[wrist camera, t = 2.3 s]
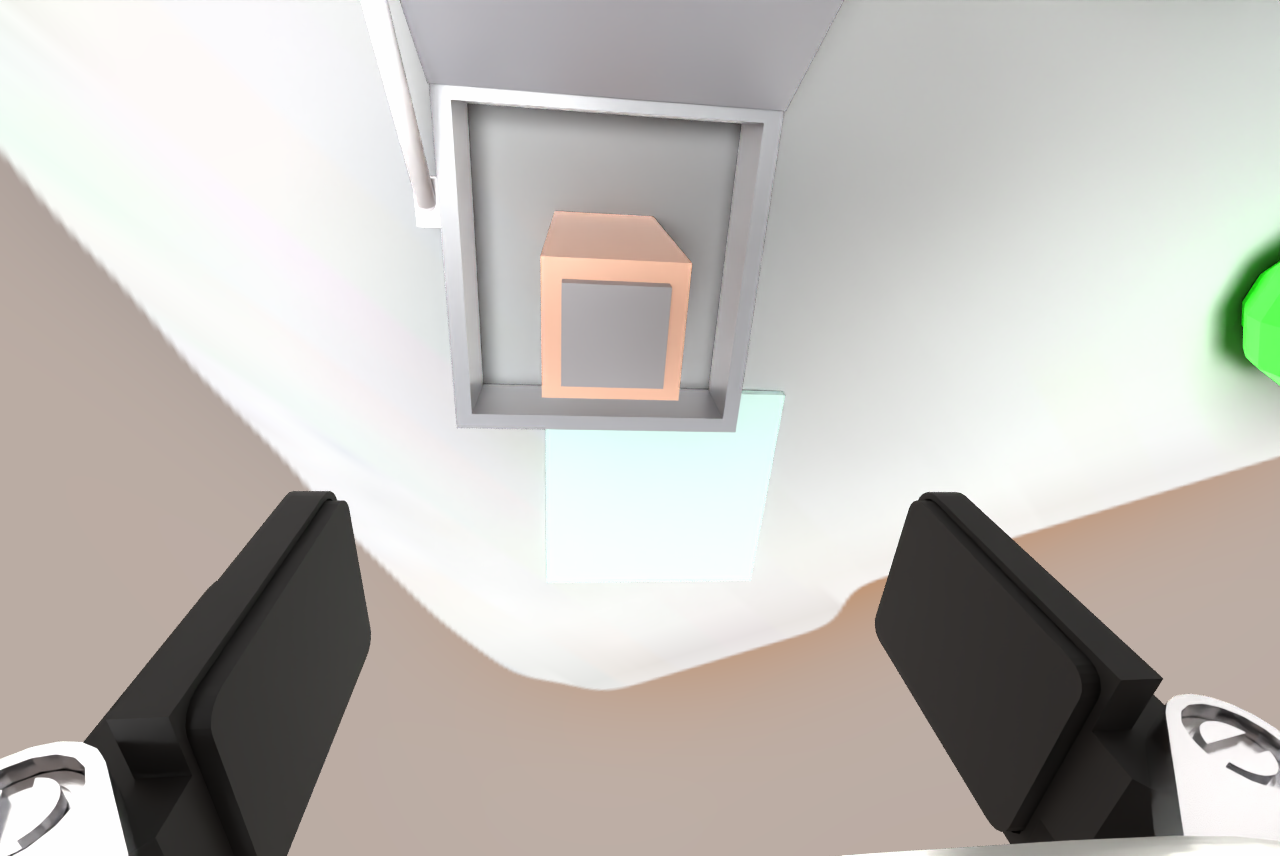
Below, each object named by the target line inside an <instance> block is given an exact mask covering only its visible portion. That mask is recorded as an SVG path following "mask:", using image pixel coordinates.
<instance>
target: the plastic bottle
mask: <svg viewBox="0 0 1280 856" xmlns="http://www.w3.org/2000/svg"><path fill="white" fill-rule="evenodd" d="M1241 326H1243V350H1244V353H1245V357H1246V358H1247V359H1248V360H1249V361H1250V362H1251V363H1252V364H1253V365H1254V366H1256V367H1257V368H1258V369H1259V370H1260V371H1261V372H1263V373H1264V374H1265V375H1267V376H1268V377H1269V378H1270V379H1272V380H1273V381H1274V382H1276V383H1277V384H1278V385H1279V386H1280V261H1278V262H1277V263H1276V264H1274V265H1273V266H1271V267H1270V268H1268V269H1267V270H1266V271H1264V272H1263V273H1261V274H1260V275H1259V277H1258V278H1257V280H1256V281H1255V283H1254V284H1253V286H1252V287H1251V289H1250V290H1249V292H1248V294H1247V295H1246V297H1245V298H1244V300H1243V301H1242V320H1241Z"/></svg>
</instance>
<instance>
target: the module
mask: <svg viewBox="0 0 1280 856" xmlns="http://www.w3.org/2000/svg"><path fill="white" fill-rule="evenodd" d="M540 264H541V363H542V397H544V398H588V399H632V400H676V401H678V399H679V389H680V379H681V369H682V359H683V349H684V340H685V330H686V320H687V310H688V300H689V290H690V280H691V270H692V263H691V261H690V260H689V259H688V258H687V257H686V255H685V254H684V253H683V252H682V251H681V249H680V248H679V247H678V246H677V245H676V243H675V242H674V241H673V240H672V239H671V237H670V236H669V235H668V234H667V233H666V231H665V230H664V229H663V228H662V227H661V225H660V224H659V223H658V222H657V221H656V219H655V218H654V217H653V216H637V215H619V214H601V213H584V212H566V211H554V215H553V218H552V221H551V224H550V227H549V230H548V234H547V237H546V240H545V243H544V246H543V249H542V253H541V256H540Z"/></svg>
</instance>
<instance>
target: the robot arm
mask: <svg viewBox="0 0 1280 856" xmlns="http://www.w3.org/2000/svg"><path fill="white" fill-rule="evenodd" d="M875 628H876V633H877V636H878V638H879V641H880V642H881V644H882V646H883V647H884V649H885V650H886V652H887V654H888V656H889V657H890V659H891V661H892V662H893V664H894V665H895V667H896V669H897V670H898V672H899V674H900V675H901V677H902V679H903V680H904V682H905V684H906V685H907V687H908V689H909V690H910V692H911V693H912V695H913V697H914V699H915V700H916V702H917V704H918V705H919V707H920V708H921V710H922V712H923V714H924V715H925V717H926V719H927V720H928V722H929V724H930V725H931V727H932V729H933V730H934V732H935V733H936V735H937V737H938V738H939V740H940V741H941V743H942V745H943V747H944V748H945V750H946V752H947V753H948V755H949V757H950V758H951V760H952V762H953V763H954V765H955V767H956V768H957V770H958V772H959V773H960V775H961V777H962V778H963V780H964V782H965V783H966V785H967V787H968V788H969V790H970V792H971V793H972V795H973V797H974V798H975V800H976V801H977V803H978V805H979V806H980V808H981V810H982V811H983V813H984V815H985V816H986V818H987V819H988V821H989V822H990V824H991V825H992V826H993V827H994V828H995V829H997V830H999V831H1001V832H1003V833H1004V834H1005V836H1006V838H1007V839H1008V841H1009V842H1010V844H1007V845H992V846H977V847H963V848H948V849H932V850H918V851H902V852H886V853H872V854H859V855H844V856H1280V731H1278V730H1277V729H1276V728H1274V727H1273V726H1271V725H1269V724H1268V723H1266V722H1265V721H1263V720H1261V719H1260V718H1258V717H1256V716H1255V715H1253V714H1251V713H1249V712H1247V711H1245V710H1243V709H1241V708H1238V707H1236V706H1234V705H1232V704H1230V703H1227V702H1224V701H1221V700H1218V699H1215V698H1211V697H1208V696H1202V695H1195V694H1183V695H1176V696H1174V697H1173V698H1172V699H1170V700H1169V701H1168V702H1167V703H1166V705H1164V704H1163V703H1162V702H1161V701H1160V700H1158V698H1156V697H1155V696H1154V695H1153V694H1154V692H1155V691H1156V689H1157V688H1158V686H1159V684H1160V683H1161V681H1162V680H1163V678H1162V677H1161V676H1160V675H1159V674H1158V673H1157V672H1156V671H1154V670H1153V669H1152V668H1151V667H1150V666H1149V665H1148V664H1147V663H1146V662H1145V661H1144V660H1142V659H1141V658H1140V657H1139V656H1138V655H1137V654H1136V653H1135V652H1134V651H1133V650H1132V649H1131V648H1130V647H1128V646H1127V645H1126V644H1125V643H1124V642H1123V641H1122V640H1121V639H1119V637H1118V636H1116V635H1115V634H1114V633H1113V632H1112V631H1111V630H1110V629H1109V628H1108V627H1107V626H1106V625H1105V624H1103V623H1102V622H1101V621H1100V620H1099V619H1098V618H1097V617H1096V616H1095V615H1094V614H1093V613H1091V612H1090V611H1089V610H1088V609H1087V608H1086V607H1085V606H1084V605H1083V604H1082V603H1081V602H1080V601H1079V600H1077V599H1076V598H1075V597H1074V596H1073V595H1072V594H1071V593H1070V592H1069V591H1068V590H1066V589H1065V588H1064V587H1063V586H1062V585H1061V584H1060V583H1059V582H1058V581H1057V580H1056V579H1055V578H1054V577H1053V576H1051V575H1050V574H1049V573H1048V572H1047V571H1046V570H1045V569H1044V568H1043V567H1042V566H1041V565H1039V564H1038V563H1037V562H1036V561H1035V560H1034V559H1033V558H1032V557H1031V556H1030V555H1029V554H1028V553H1027V552H1025V551H1024V550H1023V549H1022V548H1021V547H1020V546H1019V545H1018V544H1017V543H1016V542H1015V541H1014V540H1012V539H1011V538H1010V537H1009V536H1008V535H1007V534H1006V533H1005V532H1004V531H1003V530H1002V529H1001V528H999V527H998V526H997V525H996V524H995V523H994V522H993V521H992V520H991V519H990V518H989V517H988V516H986V515H985V514H984V513H983V512H982V511H981V510H980V509H979V508H978V507H977V506H976V505H975V504H973V503H972V502H971V501H970V500H969V499H968V498H967V497H966V496H965V495H963V494H961V493H957V492H927V493H924V494H922V496H921V497H920V498H919V500H918V501H914V502H913V503H912V504H911V506H910V508H909V511H908V514H907V517H906V520H905V523H904V527H903V530H902V533H901V536H900V540H899V543H898V546H897V549H896V553H895V556H894V559H893V562H892V566H891V569H890V572H889V575H888V578H887V582H886V585H885V588H884V592H883V595H882V598H881V601H880V604H879V608H878V611H877V614H876V618H875ZM370 640H371V630H370V624H369V618H368V612H367V607H366V602H365V596H364V590H363V585H362V579H361V573H360V568H359V562H358V557H357V551H356V545H355V539H354V534H353V528H352V523H351V517H350V511H349V507H348V504H347V503H346V502H345V501H337V499H336V497H335V495H334V493H332V492H331V491H293V492H289V493H288V494H287V495H286V496H285V497H284V499H283V500H282V501H281V502H280V504H279V505H278V506H277V507H276V509H275V510H274V511H273V512H272V514H271V515H270V516H269V517H268V519H267V520H266V521H265V522H264V523H263V525H262V526H261V527H260V529H259V530H258V531H257V532H256V533H255V535H254V536H253V537H252V538H251V540H250V541H249V542H248V543H247V545H246V546H245V547H244V548H243V550H242V551H241V552H240V553H239V555H238V556H237V557H236V558H235V560H234V561H233V562H232V563H231V565H230V566H229V567H228V568H227V569H226V571H225V572H224V573H223V575H222V576H221V577H220V578H219V579H218V581H216V582H215V583H214V584H213V585H212V586H210V587H209V589H207V591H206V592H205V593H204V594H203V595H202V597H201V598H200V599H199V600H198V602H197V603H196V604H195V605H194V607H193V608H192V609H191V610H190V611H189V613H188V614H187V615H186V616H185V618H184V619H183V620H182V621H181V623H180V624H179V625H178V626H177V628H176V629H175V630H174V631H173V632H172V634H171V635H170V636H169V637H168V639H167V640H166V641H165V642H164V643H163V645H162V646H161V647H160V648H159V650H158V651H157V652H156V653H155V655H154V656H153V657H152V658H151V660H150V661H149V662H148V663H147V664H146V666H145V667H144V668H143V669H142V671H141V672H140V673H139V674H138V676H137V677H136V678H135V679H134V680H133V682H132V683H131V684H130V686H129V687H128V688H127V689H126V690H125V692H124V693H123V694H122V695H121V696H120V698H119V699H118V700H117V702H116V703H115V704H114V705H113V706H112V708H111V709H110V710H109V711H108V713H107V714H106V715H105V716H104V717H103V719H102V720H101V721H100V722H99V724H98V725H97V726H96V727H95V729H94V730H93V731H92V732H91V733H90V735H89V736H88V737H87V738H86V740H85V741H84V742H62V741H61V742H60V741H59V742H54V743H50V744H44V745H39V746H34V747H31V748H28V749H26V750H23V751H20V752H18V753H15V754H12V755H10V756H7V757H4V758H2V759H0V856H287V854H288V852H289V849H290V847H291V844H292V841H293V839H294V837H295V834H296V832H297V829H298V826H299V824H300V822H301V819H302V817H303V814H304V812H305V809H306V807H307V804H308V802H309V799H310V797H311V794H312V792H313V789H314V787H315V784H316V782H317V779H318V777H319V774H320V772H321V769H322V767H323V764H324V762H325V759H326V757H327V754H328V752H329V749H330V746H331V744H332V742H333V739H334V736H335V734H336V732H337V729H338V727H339V724H340V722H341V719H342V717H343V714H344V712H345V709H346V707H347V704H348V702H349V699H350V697H351V694H352V692H353V689H354V686H355V684H356V682H357V679H358V677H359V674H360V672H361V669H362V667H363V664H364V662H365V659H366V657H367V654H368V651H369V646H370Z"/></svg>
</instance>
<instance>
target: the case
mask: <svg viewBox="0 0 1280 856" xmlns="http://www.w3.org/2000/svg"><path fill="white" fill-rule="evenodd" d="M360 1H361V5H362V8H363V12H364V15H365V19H366V23H367V26H368V30H369V33H370V37H371V41H372V44H373V48H374V51H375V55H376V59H377V62H378V66H379V69H380V73H381V77H382V80H383V84H384V87H385V91H386V95H387V98H388V102H389V105H390V109H391V113H392V116H393V120H394V123H395V127H396V131H397V134H398V138H399V141H400V145H401V148H402V152H403V156H404V159H405V163H406V166H407V170H408V174H409V177H410V181H411V184H412V188H413V192H414V201H415V211H416V221H417V227H433V228H441V239H442V251H443V263H444V276H445V288H446V300H447V313H448V325H449V337H450V350H451V362H452V374H453V387H454V399H455V411H456V424H457V428H496V429H556V430H616V431H676V432H736V427H737V420H738V413H739V407H740V400H741V393H742V387H743V380H744V374H745V367H746V360H747V354H748V347H749V341H750V334H751V327H752V321H753V314H754V308H755V301H756V294H757V288H758V281H759V275H760V268H761V261H762V255H763V248H764V242H765V235H766V228H767V222H768V215H769V209H770V202H771V195H772V189H773V182H774V176H775V169H776V162H777V156H778V149H779V143H780V136H781V129H782V123H783V116H784V111H786V110H787V108H788V106H789V104H790V102H791V100H792V99H793V97H794V95H795V93H796V91H797V89H798V87H799V85H800V83H801V81H802V79H803V78H804V76H805V74H806V72H807V70H808V68H809V66H810V64H811V62H812V60H813V58H814V57H815V55H816V53H817V51H818V49H819V47H820V45H821V43H822V41H823V39H824V37H825V36H826V34H827V32H828V30H829V28H830V26H831V24H832V22H833V20H834V18H835V16H836V15H837V13H838V11H839V9H840V7H841V5H842V3H843V1H844V0H400V3H401V6H402V9H403V12H404V15H405V18H406V21H407V24H408V27H409V30H410V33H411V36H412V38H413V41H414V44H415V47H416V50H417V53H418V56H419V59H420V62H421V65H422V68H423V71H424V74H425V77H426V80H427V83H429V91H430V103H431V115H432V128H433V140H434V152H435V165H436V176H430V174H429V170H428V166H427V162H426V158H425V154H424V149H423V145H422V141H421V137H420V133H419V129H418V125H417V120H416V116H415V112H414V108H413V104H412V100H411V96H410V92H409V87H408V83H407V79H406V75H405V71H404V67H403V63H402V58H401V54H400V50H399V46H398V42H397V38H396V34H395V30H394V25H393V21H392V17H391V13H390V9H389V5H388V1H387V0H360ZM467 103H470V104H483V105H497V106H510V107H523V108H537V109H550V110H564V111H577V112H591V113H604V114H617V115H631V116H644V117H658V118H671V119H684V120H698V121H711V122H725V123H738V124H741V131H740V140H739V148H738V156H737V164H736V172H735V180H734V188H733V196H732V204H731V212H730V220H729V228H728V236H727V244H726V252H725V260H724V268H723V276H722V284H721V292H720V300H719V308H718V317H717V325H716V333H715V341H714V349H713V357H712V365H711V373H710V381H709V389H679V399H678V401H676V400H632V399H588V398H544V397H542V385H506V384H483V369H482V352H481V334H480V317H479V299H478V282H477V264H476V246H475V229H474V211H473V194H472V176H471V159H470V141H469V124H468V106H467Z"/></svg>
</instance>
